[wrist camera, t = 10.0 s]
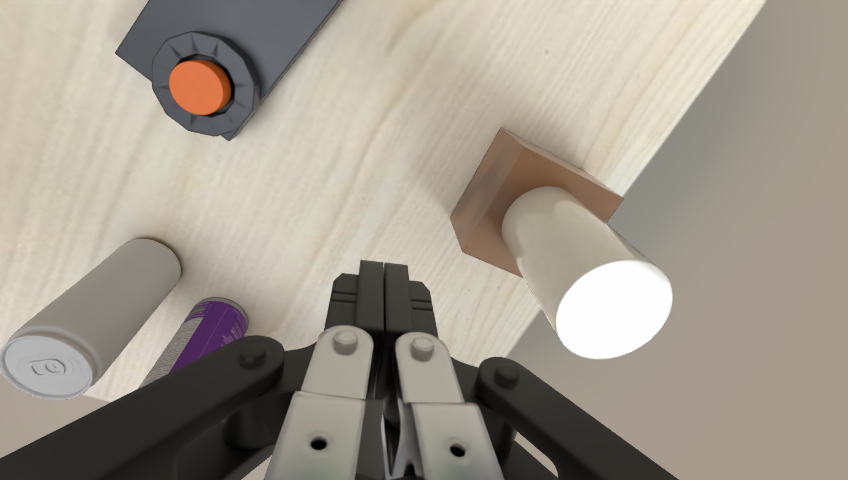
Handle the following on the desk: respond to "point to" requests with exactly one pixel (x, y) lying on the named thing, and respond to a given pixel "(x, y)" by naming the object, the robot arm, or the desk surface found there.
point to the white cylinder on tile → (585, 274)
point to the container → (201, 335)
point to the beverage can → (90, 322)
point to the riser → (517, 195)
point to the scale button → (199, 86)
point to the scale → (222, 50)
